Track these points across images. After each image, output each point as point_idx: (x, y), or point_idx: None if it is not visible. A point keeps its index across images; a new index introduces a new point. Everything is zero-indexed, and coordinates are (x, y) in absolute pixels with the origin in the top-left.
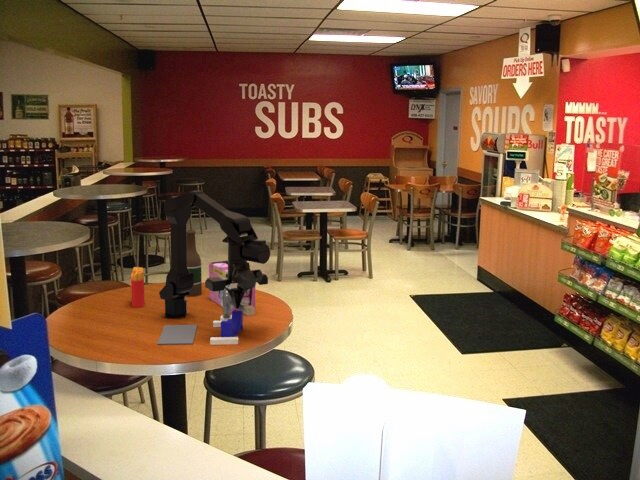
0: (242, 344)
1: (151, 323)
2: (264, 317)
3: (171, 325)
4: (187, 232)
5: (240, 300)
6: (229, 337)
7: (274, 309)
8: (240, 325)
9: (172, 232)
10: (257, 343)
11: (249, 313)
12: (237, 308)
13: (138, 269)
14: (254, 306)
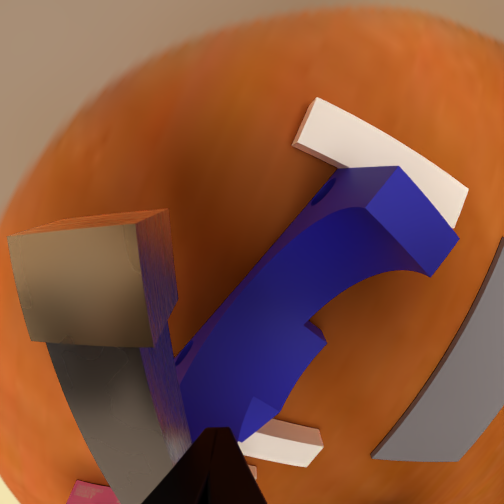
0: (283, 90)
1: (461, 478)
2: (44, 426)
3: (447, 457)
4: None
5: (167, 498)
6: (360, 161)
7: (13, 458)
8: (193, 349)
9: None
10: (184, 67)
11: (121, 215)
12: (219, 428)
13: None
14: (72, 498)
